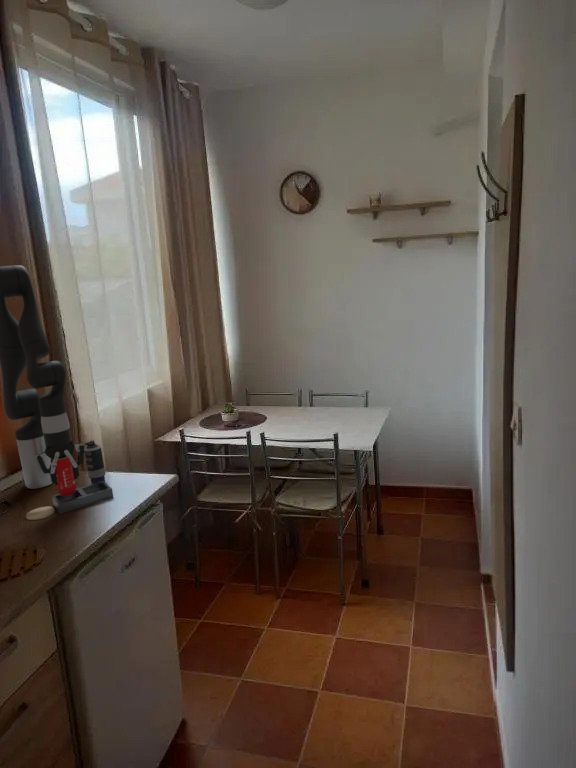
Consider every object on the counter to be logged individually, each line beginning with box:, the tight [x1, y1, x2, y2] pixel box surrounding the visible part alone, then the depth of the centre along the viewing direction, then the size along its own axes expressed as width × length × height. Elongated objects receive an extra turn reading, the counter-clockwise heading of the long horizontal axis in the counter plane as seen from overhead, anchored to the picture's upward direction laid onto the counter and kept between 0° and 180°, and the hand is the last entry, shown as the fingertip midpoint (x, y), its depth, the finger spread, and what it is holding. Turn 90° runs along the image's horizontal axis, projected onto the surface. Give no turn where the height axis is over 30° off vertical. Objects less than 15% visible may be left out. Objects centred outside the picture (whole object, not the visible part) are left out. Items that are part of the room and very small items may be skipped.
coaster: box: [25, 506, 56, 521], centre depth 162 cm, size 8×8×1 cm
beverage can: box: [55, 457, 77, 496], centre depth 165 cm, size 5×5×12 cm
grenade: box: [79, 439, 106, 485], centre depth 182 cm, size 5×7×15 cm
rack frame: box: [51, 481, 114, 515], centre depth 168 cm, size 9×16×3 cm, turn 125°
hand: (65, 481), depth 165 cm, fingers closed on beverage can, 5 cm apart
